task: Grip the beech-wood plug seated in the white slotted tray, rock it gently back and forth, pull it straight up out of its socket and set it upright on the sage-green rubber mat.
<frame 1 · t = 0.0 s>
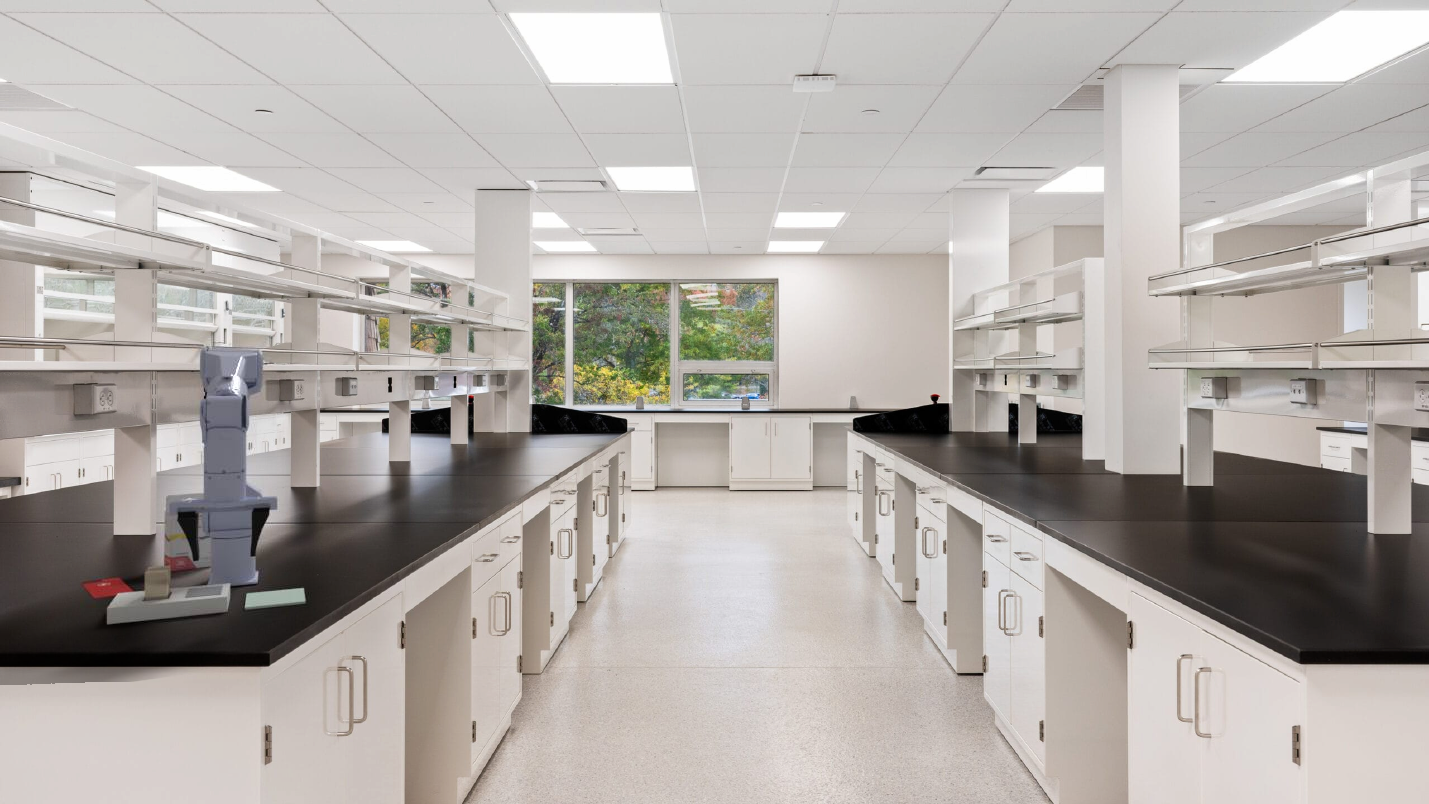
hand: (225, 557, 128), 10 cm above the countertop, fingers open, 7 cm apart
ink cartridge box: (191, 567, 165), on the countertop
mat: (275, 599, 141), on the countertop
plug: (157, 611, 133), resting in white slotted tray
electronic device: (107, 591, 148), on the countertop
white slotted tray: (172, 609, 134), on the countertop
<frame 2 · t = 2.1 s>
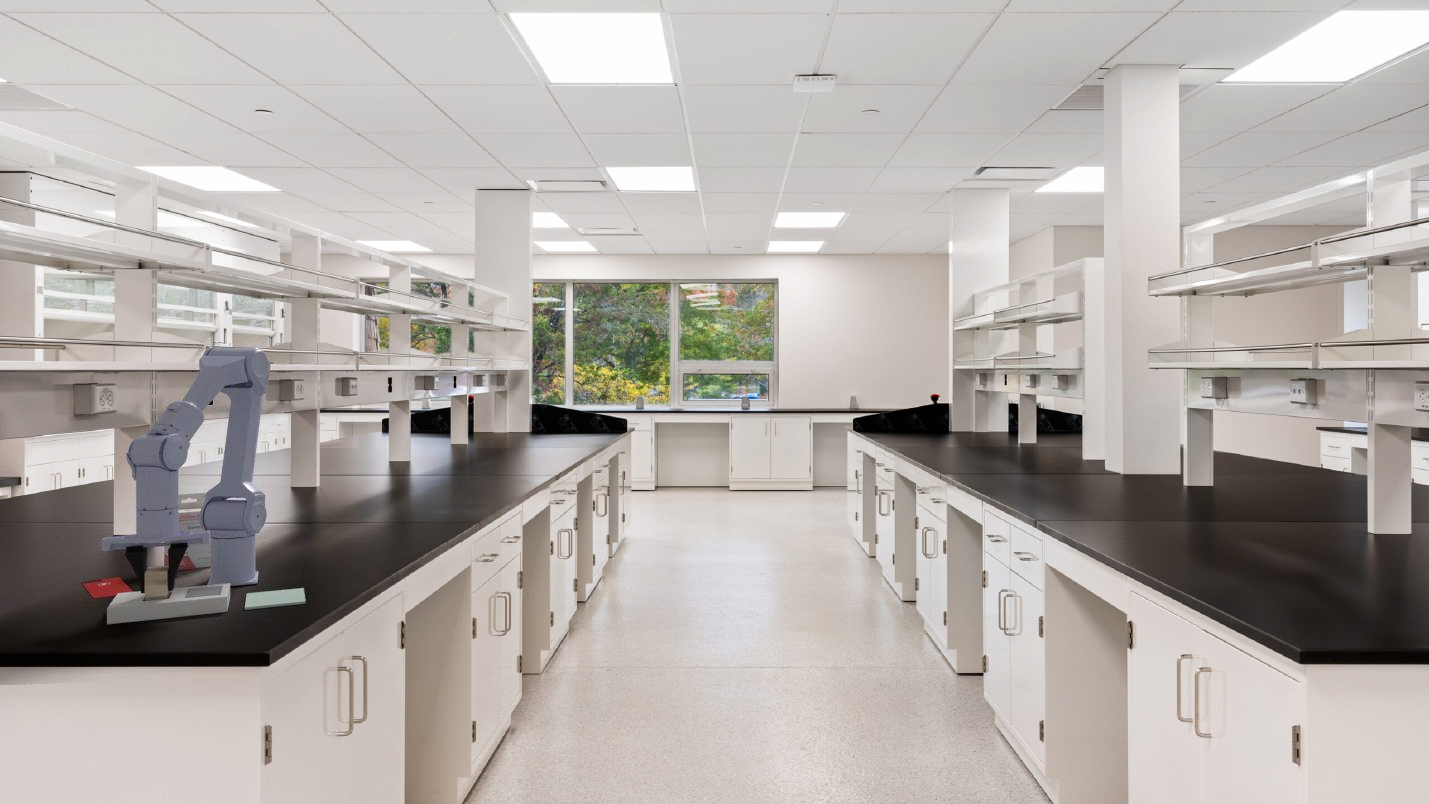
hand: (157, 590, 133), 3 cm above the countertop, fingers closed on plug, 3 cm apart
plug: (157, 611, 133), resting in white slotted tray, touching gripper
everything else where it was.
when the fingers open (5 cm above the countertop, at t = 7.2 s): plug stays where it is, resting on mat.
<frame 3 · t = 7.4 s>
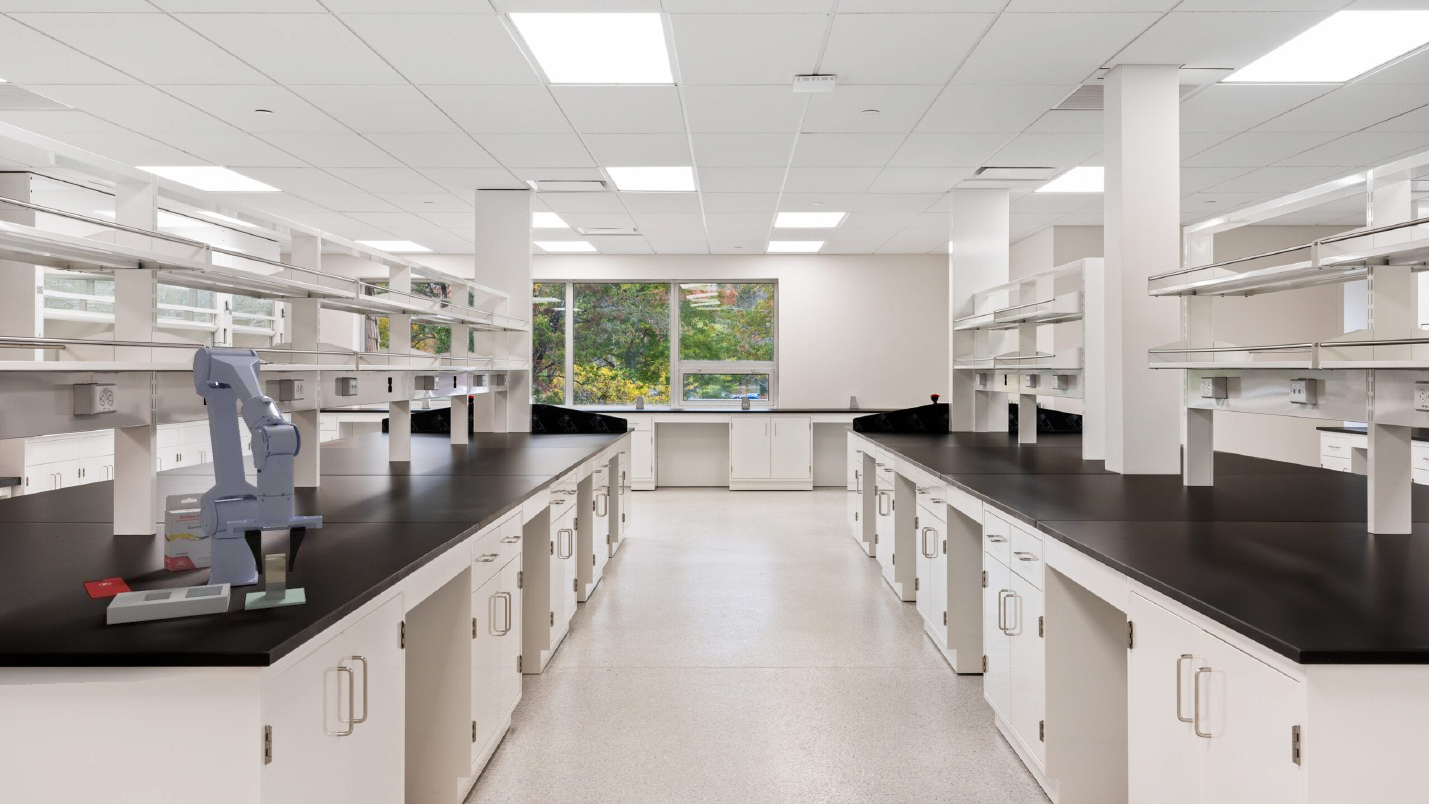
hand: (275, 572, 141), 5 cm above the countertop, fingers open, 4 cm apart
plug: (275, 596, 142), resting on mat
everything else where it was.
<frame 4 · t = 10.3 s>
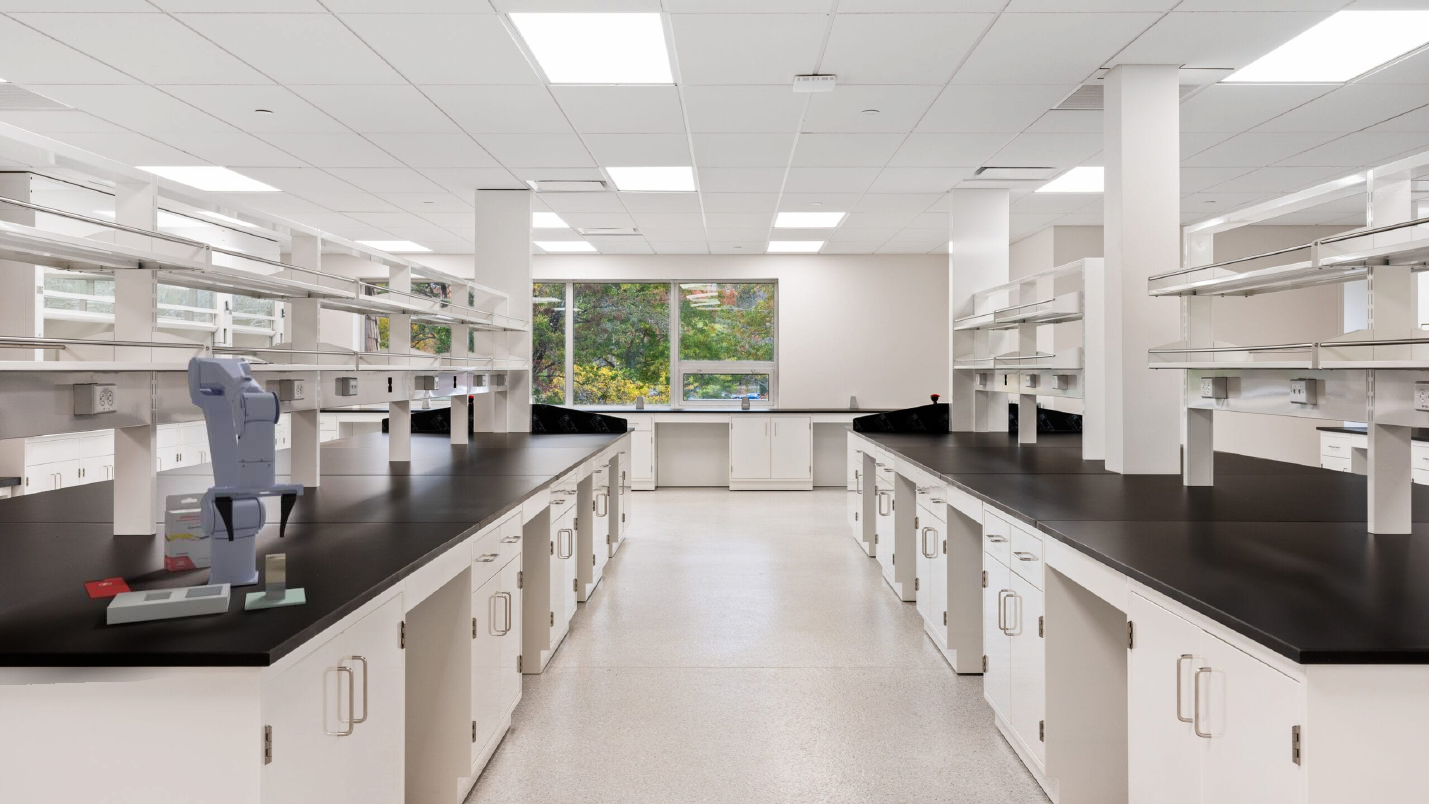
hand: (256, 538, 142), 10 cm above the countertop, fingers open, 7 cm apart
nothing on the countertop moved.
at the end: plug 0.5 cm off-centre on the mat, point 0.4 cm above the mat's base; plug tilted 0°; the gripper is holding nothing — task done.
